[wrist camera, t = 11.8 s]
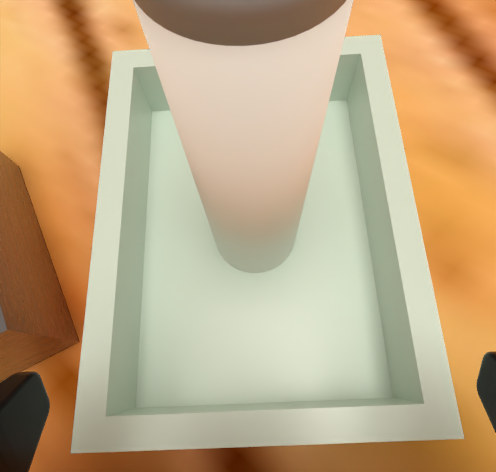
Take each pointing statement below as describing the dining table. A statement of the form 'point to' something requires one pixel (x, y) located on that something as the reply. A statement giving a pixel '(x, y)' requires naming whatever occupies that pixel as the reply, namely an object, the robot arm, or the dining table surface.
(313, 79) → the beige capped cylinder
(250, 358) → the tray
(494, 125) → the dining table surface
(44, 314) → the block
